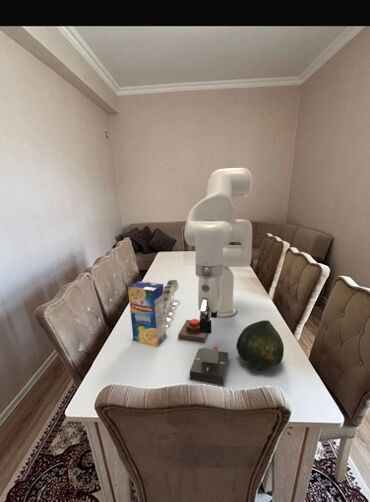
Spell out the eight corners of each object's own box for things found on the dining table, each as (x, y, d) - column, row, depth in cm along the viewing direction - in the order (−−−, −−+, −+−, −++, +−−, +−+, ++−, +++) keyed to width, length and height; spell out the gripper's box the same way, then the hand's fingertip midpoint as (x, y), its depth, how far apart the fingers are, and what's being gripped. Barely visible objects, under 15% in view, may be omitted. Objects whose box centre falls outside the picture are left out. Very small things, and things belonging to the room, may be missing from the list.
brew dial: (201, 361, 78) (201, 347, 77) (202, 358, 80) (202, 344, 78) (217, 364, 77) (217, 349, 75) (218, 360, 78) (218, 346, 77)
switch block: (186, 324, 107) (186, 315, 106) (209, 327, 104) (209, 318, 103) (178, 339, 96) (178, 330, 95) (203, 342, 93) (203, 333, 92)
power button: (191, 322, 101) (191, 318, 101) (200, 323, 100) (200, 319, 100) (189, 326, 98) (188, 322, 97) (198, 327, 97) (197, 323, 96)
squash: (228, 358, 75) (265, 326, 71) (228, 334, 90) (259, 306, 85) (262, 388, 76) (301, 359, 71) (257, 359, 90) (289, 333, 86)
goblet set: (168, 328, 104) (167, 299, 100) (155, 328, 105) (153, 299, 101) (180, 301, 130) (179, 277, 126) (169, 301, 131) (167, 277, 127)
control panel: (198, 355, 86) (198, 347, 85) (228, 360, 83) (228, 352, 82) (189, 379, 75) (189, 370, 74) (223, 385, 72) (223, 376, 71)
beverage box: (157, 346, 92) (153, 290, 86) (133, 339, 97) (127, 286, 90) (166, 336, 98) (163, 284, 91) (143, 331, 102) (138, 280, 96)
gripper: (217, 279, 61) (216, 341, 66) (226, 262, 76) (225, 313, 81) (187, 277, 63) (189, 338, 68) (202, 261, 79) (202, 311, 83)
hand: (208, 324), depth 75 cm, fingers open, 9 cm apart
